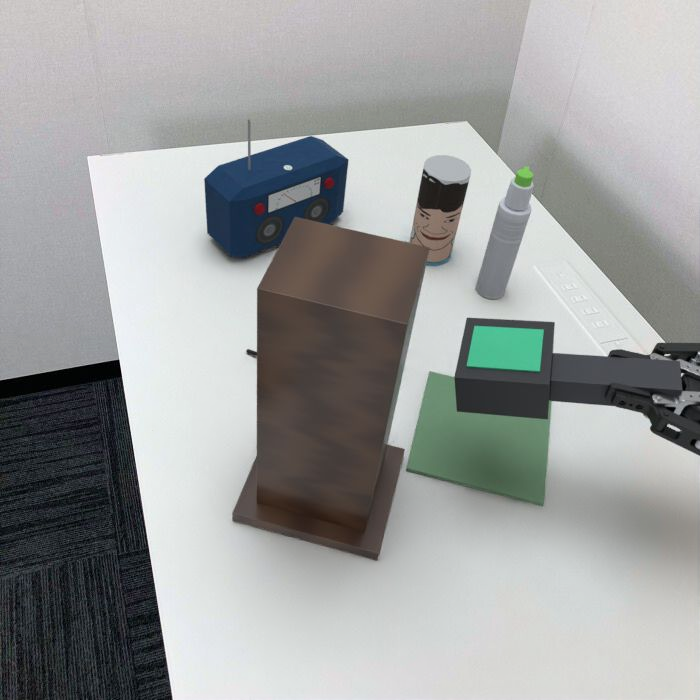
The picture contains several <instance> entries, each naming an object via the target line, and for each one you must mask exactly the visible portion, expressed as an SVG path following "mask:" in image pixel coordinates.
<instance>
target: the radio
mask: <svg viewBox="0 0 700 700" xmlns="http://www.w3.org/2000/svg"><path fill="white" fill-rule="evenodd" d="M251 140H252V139H251V118H248V119H247V156H243V157H241V158H237V159H234V160H231V161H228V162H225V163H222V164H219V165H217V166H216V167H215V168H214V169H213V170H212V171H211V172H210V173H209V174H207V175H206V176H205V177H204V179H203V182H204V199H205V213H206V214H205V219H206V233H207V234H208V236H209V237H211V239H212V240H214V241H215V243H216V244H217V245H218V246H219V247H220V248H222V249H223V250H224V251H225V252H226V253H227V255H228V256H229V257H232V258H239V259H246V258H249V257H251V256H253V255H256V254H258V253H261V252H264V251H266V250H268V249H271V248H274V247H276V246H280V244H281V242H282V240H283V238H284V237H285V235H286V233H287V231H288V229H289V227H290V225H291V223H292V221H293V219H294V218H295V217H298V218H302V219H307V220H311V221H316V222H320V223H324V224H329V225H332V223H333V222H334V221H336V219H337V218H339V217H340V216H341V215H342V214H343V213H344V209H345V208H344V207H345V199H346V198H345V197H346V186H347V177H348V168H349V159H348V157H346V156H345V155H343V154H342V153H341V152H340V151H338V150H337V149H336V148H334V147H333V146H331V145H330V144H329V143H327V142H326V141H324V139H322V138H319V137H315V136H313V135H309V136H306V137H303V138H300V139H298V140H294V141H291V142H287V143H284V144H280V145H278V146H275V147H271V148H269V149H266V150H263V151H259V152H256V153H253V154H252V153H251V152H252V151H251V147H252V146H251Z"/></svg>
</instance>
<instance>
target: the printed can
mask: <svg viewBox="0 0 700 700" xmlns="http://www.w3.org/2000/svg"><path fill="white" fill-rule="evenodd" d="M422 167H423V168H422V173H421V178H420V184H419V188H418V189H419V190H418V194H417V200H416V205H415V210H414V216H413V221H412V227H411V231H410V237H409V241H408V243H412V244H417V245H421V246H425V247H429V248H430V249H429V254H428V259H427V263H426V266H429V267H430V266H431V267H432V266H433V267H436V266H437V267H438V266H441V265H444V264H446V263H448V262H449V260H450V259H451V256H452V252H453V249H454V244H455V240H456V237H457V232H458V229H459V228H458V227H459V225H460V224H459V223H460V219H461V216H462V211H463V207H464V204H465V199H466V195H467V190H468V187H469V182H470V178H471V175H472V168H471V167H470V165H469V164H468V163H467V162H466V161H465V160H463V159H461V158H459V157H456V156H453V155H447V154H437V155H433V156H430V157H428V158H426V160H425V161H424V162H423V166H422Z"/></svg>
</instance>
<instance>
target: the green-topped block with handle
mask: <svg viewBox="0 0 700 700" xmlns="http://www.w3.org/2000/svg"><path fill="white" fill-rule="evenodd" d="M555 325H556V323H555V321H542V320H522V319H506V318H505V319H502V318H486V317H485V318H484V317H466V320H465V325H464V329H463V335H462V338H461V343H460V349H459V353H458V357H457V363H456V367H455V372H454V376H453V377H454V379H455V393H456V407H457V412H467V413H479V414H490V415H502V416H513V417H524V418H536V419H548V411H549V400H550V401H552V402H556V403H557V402H558V403H569V404H581V405H594V406H607V407H615V406H614V405H612V404H611V403H608V402H606V401H605V393H606V391H607V389H608V387H609V385H610V384H611V383H619V384H623V385H628V386H632V387H635V388H639V389H644V390H648V391H650V395H651V396H652V395H653V394H656V393H657V394H668V395H672V396H675V395H677V394H682V390H683V389H682V379H681V377H682V373H681V368H680V361H672V360H656V359H640V358H624V357H608V355H606V356H605V355H593V354H592V355H591V354H575V353H562V352H561V353H559V352H554V346H555V345H554V344H555V343H554V342H555V341H554V340H555ZM667 408H669V407H666V409H667Z"/></svg>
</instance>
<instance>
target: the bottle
mask: <svg viewBox="0 0 700 700" xmlns="http://www.w3.org/2000/svg"><path fill="white" fill-rule="evenodd" d="M533 179H534V173H533V172H532V171H531V170H530V166H527V165H524V166H523V168H521V169H518V170H517V171H516V174H515V176H514V177H512V179H510V183H509V184H508V185H509V186H508V188H507V190H506V194H505V197H504V196H503V198H501V199H500V200H499V202H498V206H497V209H496V213H495V216H494V220H493V222H492V227H491V231H490V233H489V234H490V235H489V237H488V240H487V245H486V248H485V252H484V255H483V259H482V262H481V266H480V269H479V273H478V277H477V279H476V284H475V291H476V292H477V294H479V295H480V296H482V297H483V298H484V299H485V298H486V299H489V300H497V299H500V298H502V297H504V295H505V293H506V290H507V288H508V284H509V281H510V277H511V274H512V272H513V269H514V266H515V262H516V259H517V256H518V254H519V250H520V247H521V245H522V241H523V238H524V234H525V231H526V228H527V225H528V223H529V219H530V216H531V213H532V205H531V204H530V201H531V199H532V198H531V197H532V194H533V191H534V190H533V189H534V182H533Z"/></svg>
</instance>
